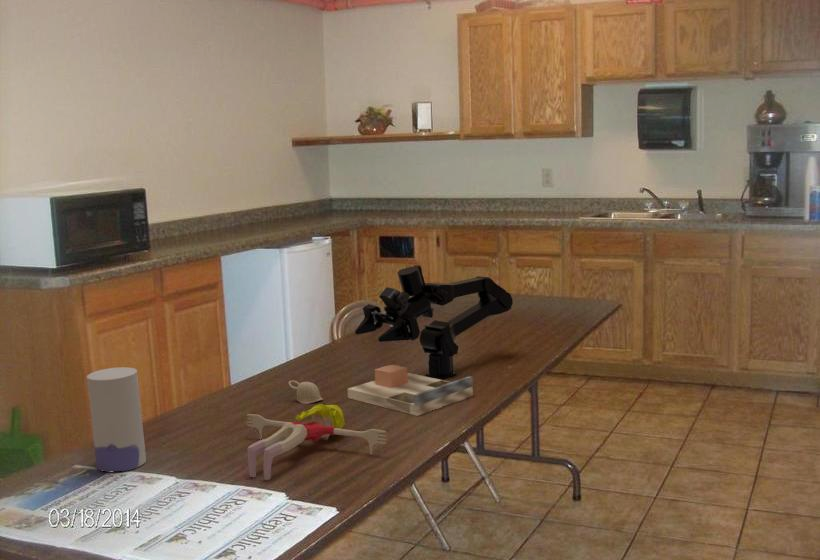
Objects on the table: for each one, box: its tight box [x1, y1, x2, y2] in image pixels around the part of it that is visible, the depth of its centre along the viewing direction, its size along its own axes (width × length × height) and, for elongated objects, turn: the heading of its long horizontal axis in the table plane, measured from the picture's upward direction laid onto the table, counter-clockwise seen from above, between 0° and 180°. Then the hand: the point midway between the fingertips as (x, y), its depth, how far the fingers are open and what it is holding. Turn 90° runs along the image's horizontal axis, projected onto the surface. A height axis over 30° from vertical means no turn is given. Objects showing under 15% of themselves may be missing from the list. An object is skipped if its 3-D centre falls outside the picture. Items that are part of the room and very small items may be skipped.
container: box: [86, 366, 147, 472], centre depth 186 cm, size 10×10×20 cm
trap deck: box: [347, 372, 474, 417], centre depth 226 cm, size 20×25×5 cm
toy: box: [246, 403, 387, 481], centre depth 191 cm, size 28×28×9 cm
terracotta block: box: [374, 364, 409, 388], centre depth 230 cm, size 6×6×4 cm
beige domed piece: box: [288, 380, 325, 405], centre depth 227 cm, size 4×8×5 cm, turn 66°
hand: (367, 336), depth 227 cm, fingers open, 9 cm apart
